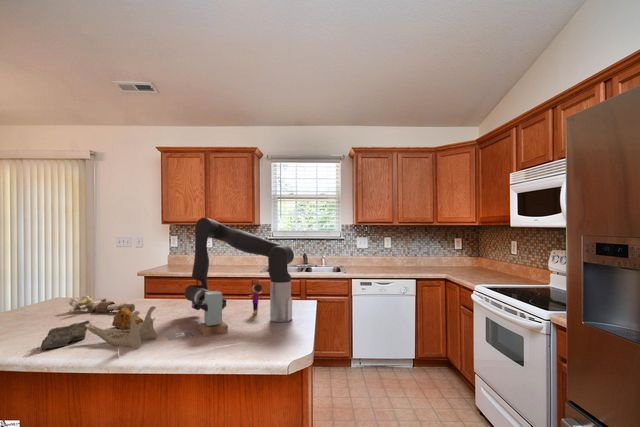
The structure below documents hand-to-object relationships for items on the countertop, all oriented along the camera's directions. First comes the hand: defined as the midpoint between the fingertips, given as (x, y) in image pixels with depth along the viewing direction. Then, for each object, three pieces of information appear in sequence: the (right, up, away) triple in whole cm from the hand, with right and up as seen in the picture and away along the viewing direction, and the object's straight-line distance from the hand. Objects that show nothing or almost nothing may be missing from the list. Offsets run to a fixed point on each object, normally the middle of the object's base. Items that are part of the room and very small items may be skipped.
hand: (215, 307), depth 131 cm
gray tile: (-13, -10, -3) cm, 16 cm away
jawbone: (-32, -10, -10) cm, 35 cm away
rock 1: (-51, -10, -10) cm, 53 cm away
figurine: (-66, -12, +33) cm, 75 cm away
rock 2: (-39, -11, +8) cm, 41 cm away
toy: (+11, -12, +29) cm, 33 cm away
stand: (-1, -10, +2) cm, 10 cm away
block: (-1, -7, +2) cm, 7 cm away
